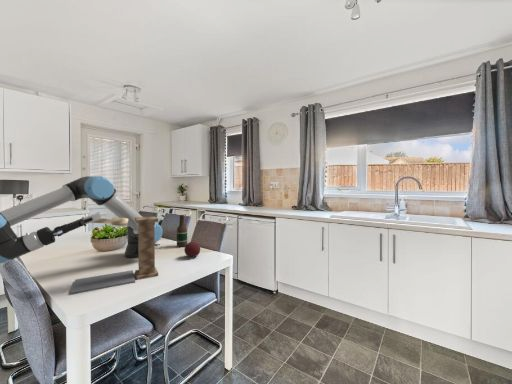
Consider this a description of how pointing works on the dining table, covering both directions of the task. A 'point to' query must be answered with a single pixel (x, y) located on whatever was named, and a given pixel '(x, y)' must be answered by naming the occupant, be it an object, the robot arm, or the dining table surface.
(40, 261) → the dining table surface
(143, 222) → the stand
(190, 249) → the decorative ball
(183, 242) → the beer bottle
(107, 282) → the mat
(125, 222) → the spoon
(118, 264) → the dining table surface
